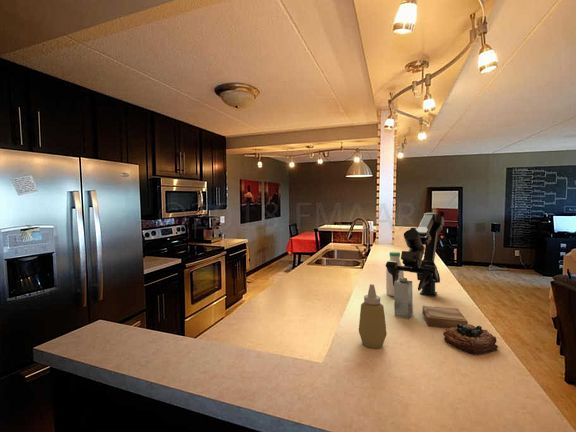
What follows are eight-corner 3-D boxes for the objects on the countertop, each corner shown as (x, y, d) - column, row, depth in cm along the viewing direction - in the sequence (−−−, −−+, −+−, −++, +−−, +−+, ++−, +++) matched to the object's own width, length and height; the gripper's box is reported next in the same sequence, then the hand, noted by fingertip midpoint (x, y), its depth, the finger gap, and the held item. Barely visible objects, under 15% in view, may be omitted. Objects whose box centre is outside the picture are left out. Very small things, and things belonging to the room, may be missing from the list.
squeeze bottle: (356, 348, 81) (356, 287, 81) (360, 336, 89) (359, 280, 89) (386, 353, 78) (385, 289, 78) (387, 340, 86) (386, 282, 86)
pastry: (503, 351, 79) (503, 330, 79) (472, 358, 75) (472, 337, 75) (467, 334, 89) (467, 316, 89) (438, 340, 86) (438, 321, 86)
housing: (399, 312, 109) (399, 276, 108) (412, 315, 105) (412, 278, 105) (394, 316, 105) (394, 278, 105) (408, 319, 102) (407, 280, 101)
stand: (422, 313, 107) (422, 305, 107) (458, 316, 103) (457, 308, 103) (427, 326, 96) (427, 316, 96) (467, 330, 92) (467, 320, 92)
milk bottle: (404, 297, 126) (404, 253, 125) (386, 296, 128) (386, 253, 128) (403, 292, 133) (403, 251, 133) (386, 291, 136) (385, 250, 135)
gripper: (387, 241, 117) (376, 272, 109) (436, 244, 104) (427, 279, 96) (394, 258, 123) (384, 288, 115) (441, 262, 110) (433, 297, 102)
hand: (405, 287), depth 107 cm, fingers open, 9 cm apart
